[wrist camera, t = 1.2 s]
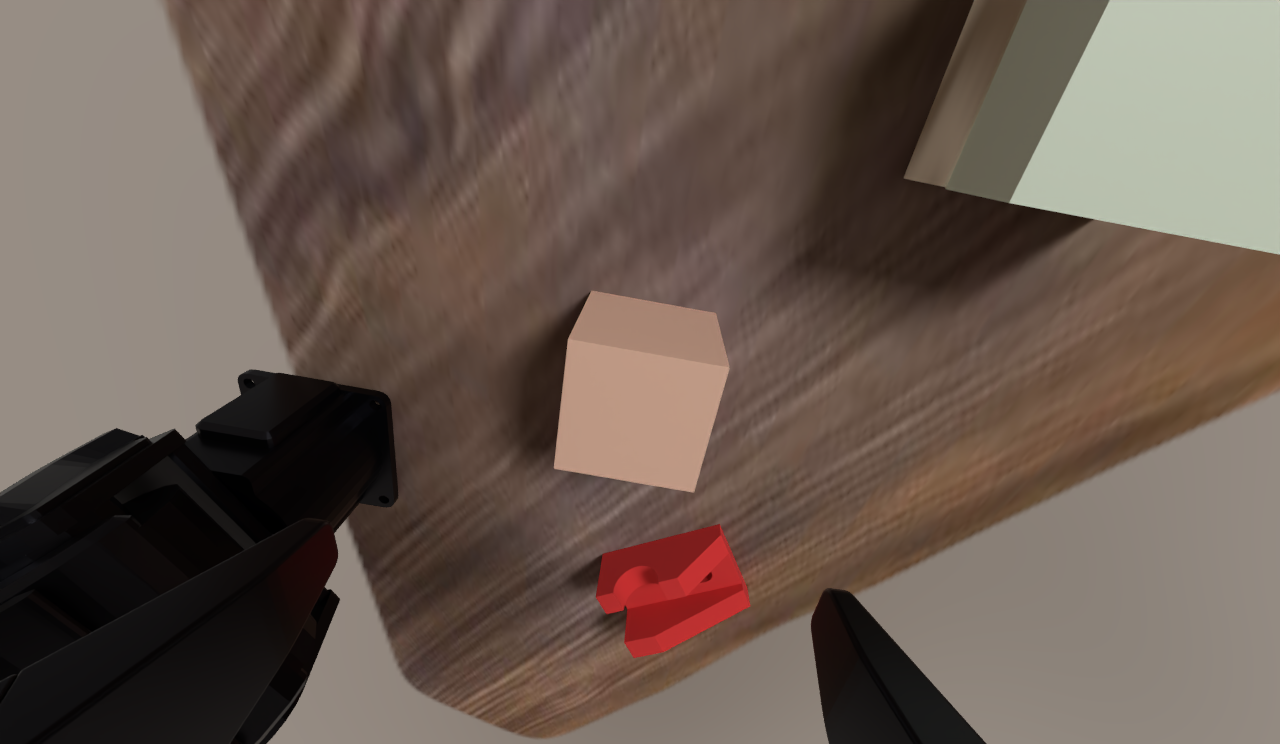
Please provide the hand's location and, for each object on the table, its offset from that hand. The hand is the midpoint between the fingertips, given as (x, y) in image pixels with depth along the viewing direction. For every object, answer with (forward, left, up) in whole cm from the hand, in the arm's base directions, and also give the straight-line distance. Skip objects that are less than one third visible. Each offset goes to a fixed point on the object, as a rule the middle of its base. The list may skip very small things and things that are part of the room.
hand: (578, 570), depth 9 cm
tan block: (-1, -1, -12) cm, 12 cm away
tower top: (+11, -12, -9) cm, 19 cm away
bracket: (-13, -5, -13) cm, 19 cm away
